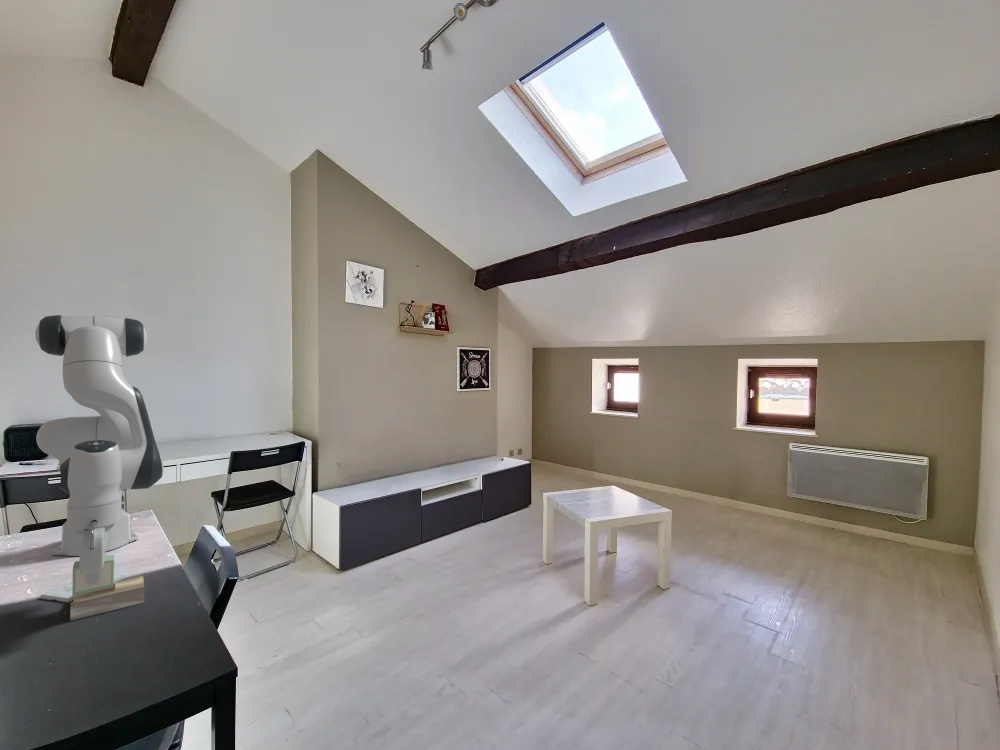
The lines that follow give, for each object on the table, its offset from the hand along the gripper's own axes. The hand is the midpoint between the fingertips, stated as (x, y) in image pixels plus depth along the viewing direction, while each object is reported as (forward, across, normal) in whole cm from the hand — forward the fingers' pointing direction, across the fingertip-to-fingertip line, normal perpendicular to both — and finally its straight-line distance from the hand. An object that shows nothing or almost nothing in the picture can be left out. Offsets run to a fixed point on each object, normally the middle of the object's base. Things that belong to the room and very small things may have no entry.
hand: (94, 578), depth 97 cm
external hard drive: (+7, +15, +2) cm, 16 cm away
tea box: (+2, 0, 0) cm, 2 cm away
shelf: (+7, +3, -2) cm, 8 cm away
